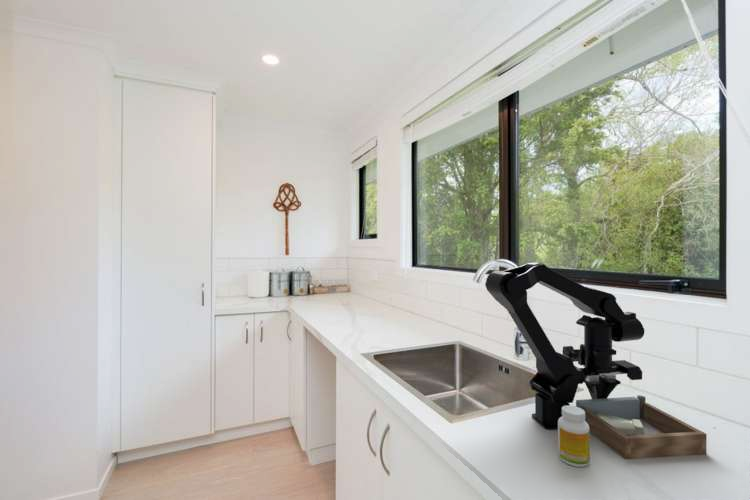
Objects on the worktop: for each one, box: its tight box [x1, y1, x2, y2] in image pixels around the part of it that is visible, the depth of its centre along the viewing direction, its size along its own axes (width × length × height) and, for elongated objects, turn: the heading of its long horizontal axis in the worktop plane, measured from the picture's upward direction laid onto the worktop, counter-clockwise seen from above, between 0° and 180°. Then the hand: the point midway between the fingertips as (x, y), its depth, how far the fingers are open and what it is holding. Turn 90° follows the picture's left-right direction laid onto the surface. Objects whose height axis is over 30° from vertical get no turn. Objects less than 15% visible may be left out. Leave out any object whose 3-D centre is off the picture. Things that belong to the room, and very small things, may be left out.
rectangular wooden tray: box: [579, 394, 707, 460], centre depth 77 cm, size 17×16×5 cm
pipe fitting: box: [596, 412, 645, 436], centre depth 79 cm, size 8×4×7 cm
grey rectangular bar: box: [575, 396, 640, 420], centre depth 84 cm, size 15×2×4 cm, turn 95°
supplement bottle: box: [557, 405, 591, 468], centre depth 68 cm, size 5×5×10 cm
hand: (597, 406), depth 86 cm, fingers closed, pressing on grey rectangular bar
